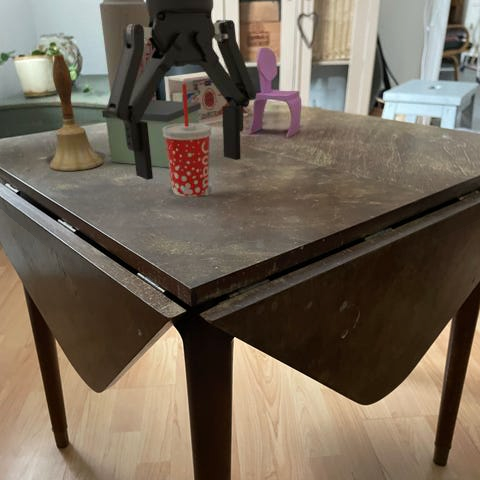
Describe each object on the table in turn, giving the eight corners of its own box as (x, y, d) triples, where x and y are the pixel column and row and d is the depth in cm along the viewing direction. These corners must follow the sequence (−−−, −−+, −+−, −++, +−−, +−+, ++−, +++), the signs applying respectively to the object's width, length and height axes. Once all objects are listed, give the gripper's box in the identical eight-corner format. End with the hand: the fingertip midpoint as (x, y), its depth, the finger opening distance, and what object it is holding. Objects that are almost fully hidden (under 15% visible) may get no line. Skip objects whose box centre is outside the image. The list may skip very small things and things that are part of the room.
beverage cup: (193, 208, 68) (186, 89, 61) (158, 199, 71) (147, 85, 64) (223, 196, 72) (220, 83, 65) (189, 188, 76) (182, 79, 68)
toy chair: (288, 139, 101) (290, 50, 94) (245, 135, 105) (245, 49, 97) (303, 130, 108) (307, 46, 100) (262, 127, 111) (263, 45, 103)
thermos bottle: (168, 139, 102) (154, -38, 88) (140, 148, 96) (121, -40, 82) (136, 135, 106) (118, -36, 92) (107, 143, 100) (83, -38, 86)
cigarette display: (185, 128, 110) (182, 78, 106) (168, 125, 114) (164, 76, 109) (251, 114, 123) (251, 69, 118) (234, 112, 126) (233, 68, 121)
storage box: (108, 162, 88) (101, 110, 84) (144, 146, 98) (139, 99, 93) (172, 168, 85) (167, 114, 81) (202, 151, 94) (200, 102, 90)
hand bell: (40, 164, 87) (18, 55, 79) (85, 155, 92) (69, 51, 84) (66, 174, 82) (46, 58, 74) (112, 164, 87) (98, 54, 79)
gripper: (86, -33, 50) (117, 193, 61) (285, -29, 63) (281, 155, 74) (54, -28, 55) (88, 179, 66) (244, -26, 68) (246, 146, 79)
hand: (190, 167), depth 70 cm, fingers open, 13 cm apart
